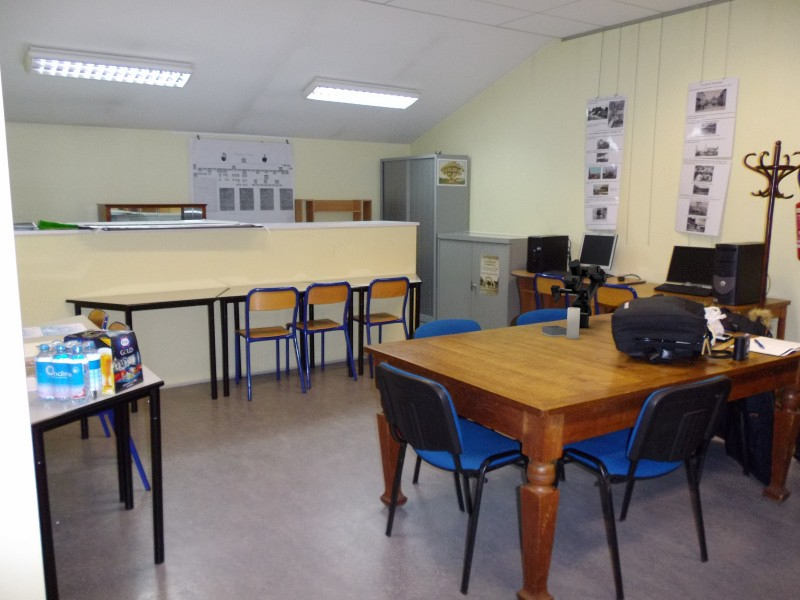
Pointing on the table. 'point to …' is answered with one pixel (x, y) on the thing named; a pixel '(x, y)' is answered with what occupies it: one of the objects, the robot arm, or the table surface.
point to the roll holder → (554, 331)
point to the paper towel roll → (573, 323)
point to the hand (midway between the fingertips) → (564, 303)
